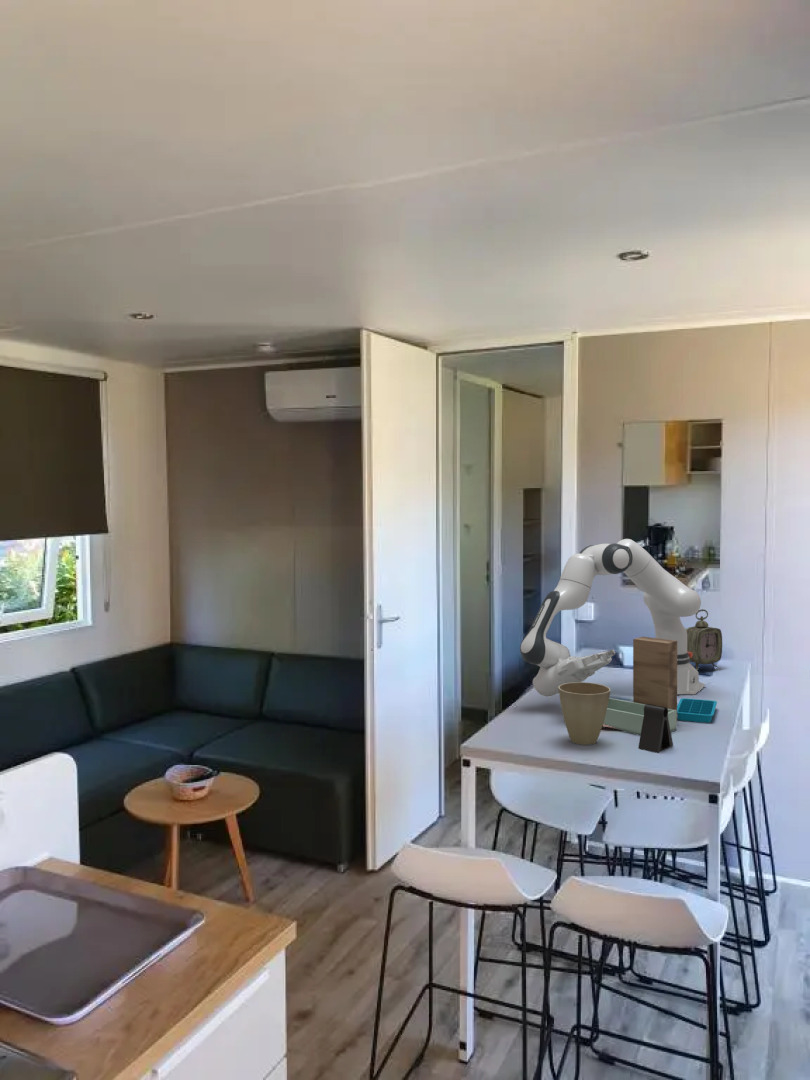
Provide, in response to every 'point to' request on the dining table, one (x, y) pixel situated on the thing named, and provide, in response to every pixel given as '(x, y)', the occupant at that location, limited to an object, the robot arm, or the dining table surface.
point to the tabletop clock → (704, 642)
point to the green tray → (631, 716)
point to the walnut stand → (655, 672)
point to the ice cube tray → (696, 710)
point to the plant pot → (584, 710)
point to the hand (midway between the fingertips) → (605, 654)
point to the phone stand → (655, 729)
